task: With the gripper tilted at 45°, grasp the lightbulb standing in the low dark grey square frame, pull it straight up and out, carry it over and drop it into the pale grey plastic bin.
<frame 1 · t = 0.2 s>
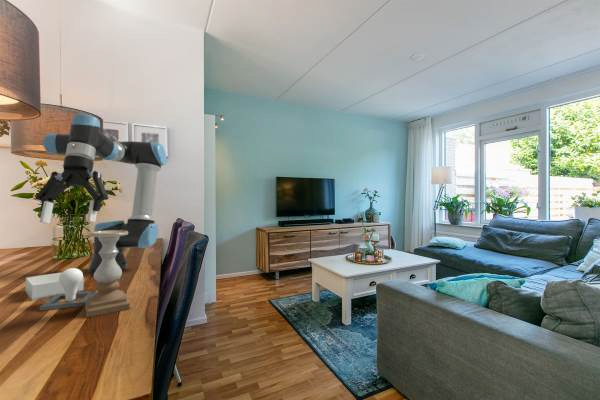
hand: (68, 222, 84), 27 cm above the table, tool tilted 15°, fingers open, 13 cm apart
bin: (54, 291, 99), on the table
lightbulb: (70, 302, 89), resting in dark grey square frame
dark grey square frame: (70, 301, 89), on the table
candle holder: (107, 308, 85), on the table
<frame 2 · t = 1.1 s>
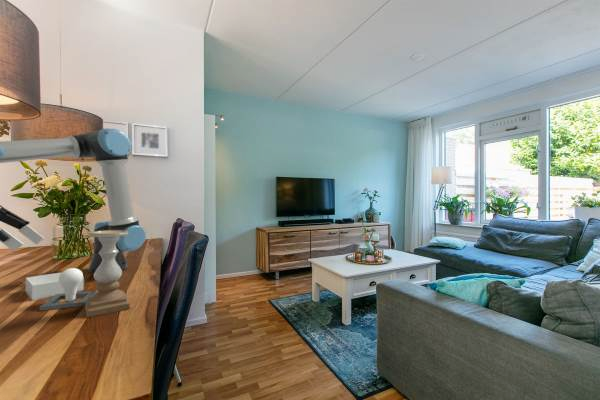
hand: (30, 244, 85), 19 cm above the table, tool tilted 45°, fingers open, 13 cm apart
nothing on the table moved.
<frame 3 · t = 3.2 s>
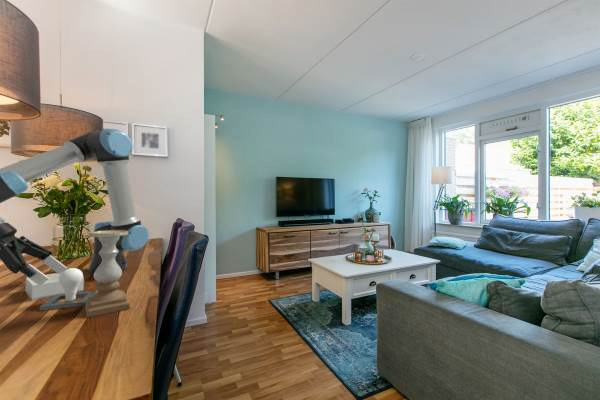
hand: (54, 276, 87), 9 cm above the table, tool tilted 45°, fingers open, 13 cm apart
nothing on the table moved.
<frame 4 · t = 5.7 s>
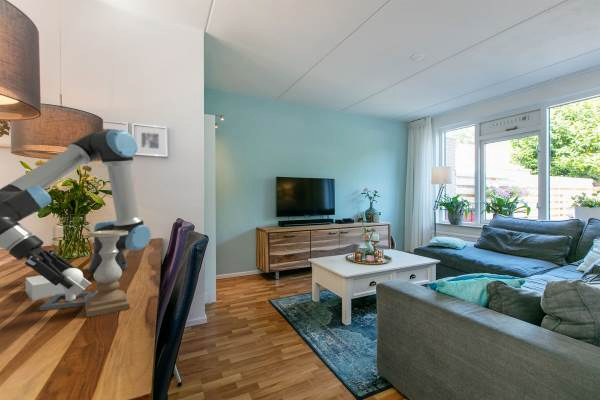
hand: (84, 289, 91), 4 cm above the table, tool tilted 45°, fingers closed on lightbulb, 6 cm apart
lightbulb: (70, 302, 89), resting in dark grey square frame, touching gripper
everything else where it was.
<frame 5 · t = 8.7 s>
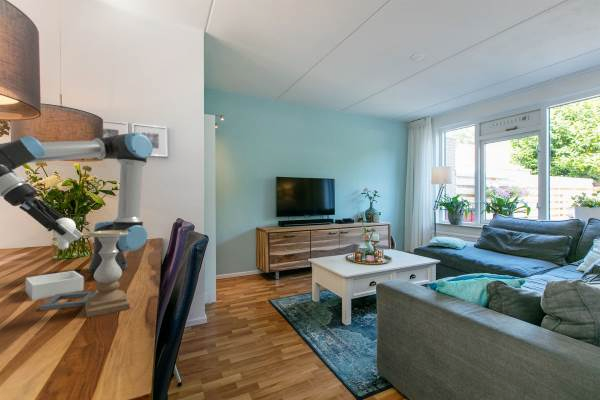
hand: (77, 238, 94), 20 cm above the table, tool tilted 45°, fingers closed on lightbulb, 6 cm apart
lightbulb: (63, 250, 93), point 16 cm above the table, touching gripper
everything else where it was.
when the fingers open (11 cm above the table, at t = 11.5 s): lightbulb drops 7 cm, resting on bin.
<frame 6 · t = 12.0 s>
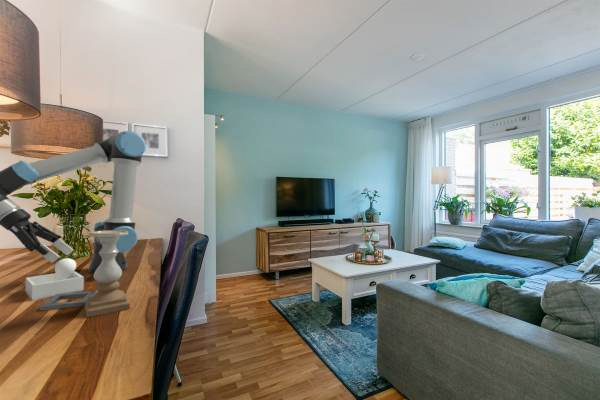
hand: (63, 256, 100), 13 cm above the table, tool tilted 45°, fingers open, 13 cm apart
lightbulb: (55, 288, 99), point 1 cm above the table, touching bin
everything else where it was.
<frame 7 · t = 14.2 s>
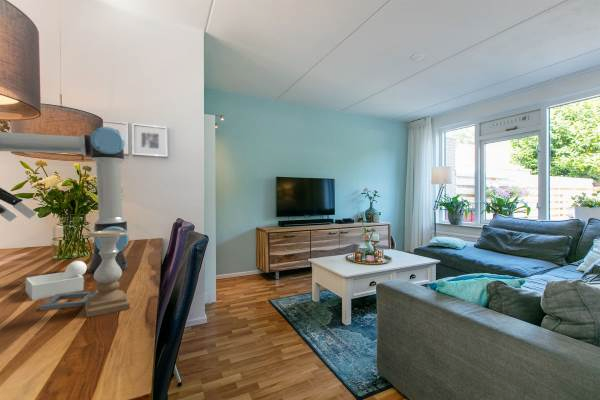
hand: (23, 217, 99), 27 cm above the table, tool tilted 45°, fingers open, 13 cm apart
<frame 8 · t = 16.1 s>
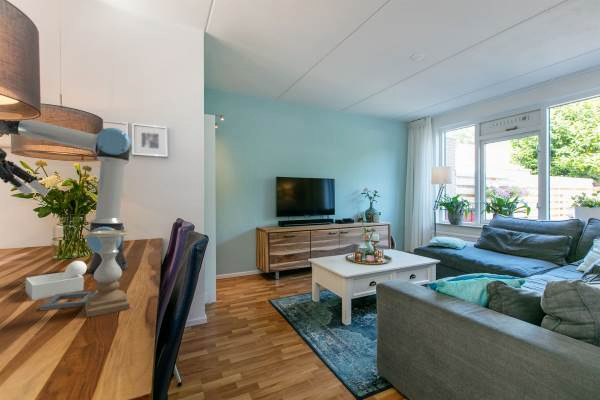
hand: (38, 193, 106), 36 cm above the table, tool tilted 45°, fingers open, 13 cm apart
at the end: lightbulb inside the target area on the bin (0.4 cm from its centre), point 1.4 cm above the bin's base; the gripper is holding nothing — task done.
